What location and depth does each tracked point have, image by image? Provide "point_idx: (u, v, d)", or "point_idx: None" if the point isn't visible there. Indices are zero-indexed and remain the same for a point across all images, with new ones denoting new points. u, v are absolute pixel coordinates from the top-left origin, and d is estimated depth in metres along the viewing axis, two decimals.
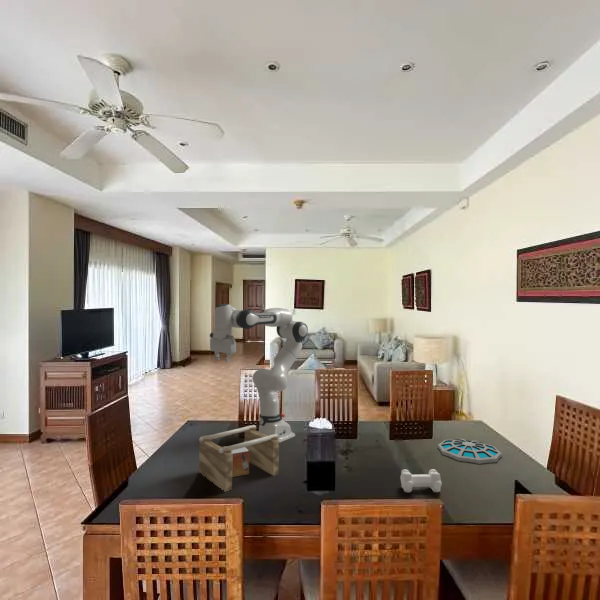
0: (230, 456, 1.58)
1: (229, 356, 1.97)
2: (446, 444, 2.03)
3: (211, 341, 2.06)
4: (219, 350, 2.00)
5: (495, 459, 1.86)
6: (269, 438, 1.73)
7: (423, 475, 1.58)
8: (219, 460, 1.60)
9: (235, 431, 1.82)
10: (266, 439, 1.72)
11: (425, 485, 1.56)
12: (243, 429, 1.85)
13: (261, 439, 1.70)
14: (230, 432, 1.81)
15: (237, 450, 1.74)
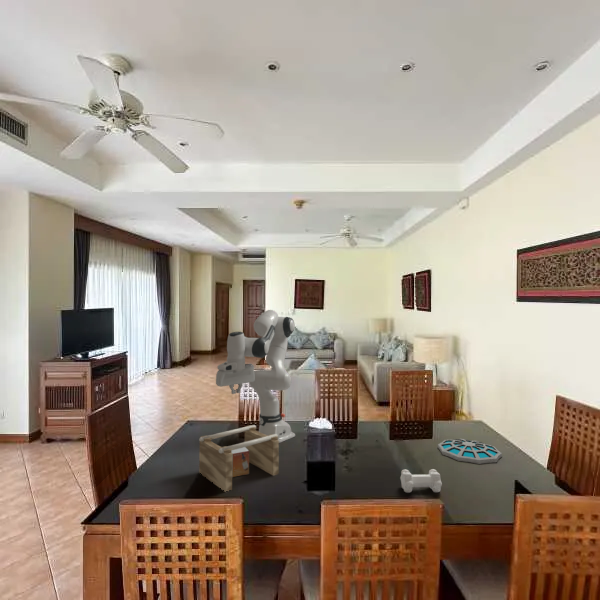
0: (230, 456, 1.58)
1: None
2: (446, 444, 2.03)
3: (223, 375, 1.82)
4: (237, 382, 1.87)
5: (495, 459, 1.86)
6: (269, 438, 1.73)
7: (423, 475, 1.58)
8: (219, 460, 1.60)
9: (235, 431, 1.82)
10: (266, 439, 1.72)
11: (425, 485, 1.56)
12: (243, 429, 1.85)
13: (261, 439, 1.70)
14: (230, 432, 1.81)
15: (237, 450, 1.74)
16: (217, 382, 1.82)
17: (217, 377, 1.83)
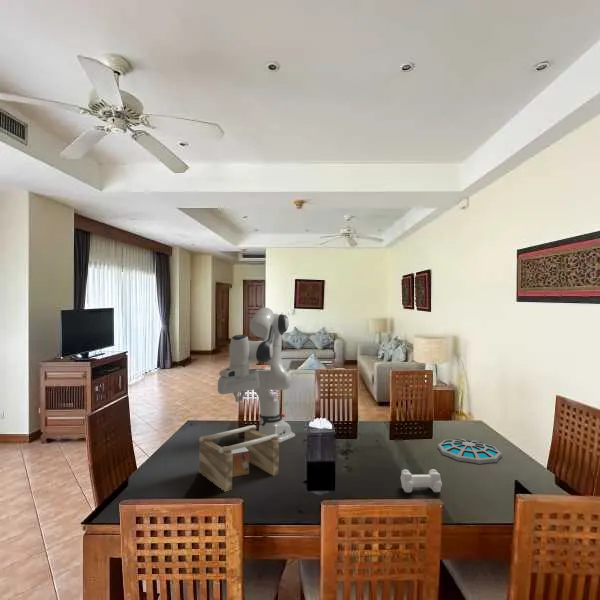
0: (230, 456, 1.58)
1: None
2: (446, 444, 2.03)
3: (226, 382, 1.68)
4: (240, 389, 1.73)
5: (495, 459, 1.86)
6: (269, 438, 1.73)
7: (423, 475, 1.58)
8: (219, 460, 1.60)
9: (235, 431, 1.82)
10: (266, 439, 1.72)
11: (425, 485, 1.56)
12: (243, 429, 1.85)
13: (261, 439, 1.70)
14: (230, 432, 1.81)
15: (237, 450, 1.74)
16: (219, 389, 1.68)
17: (219, 384, 1.69)
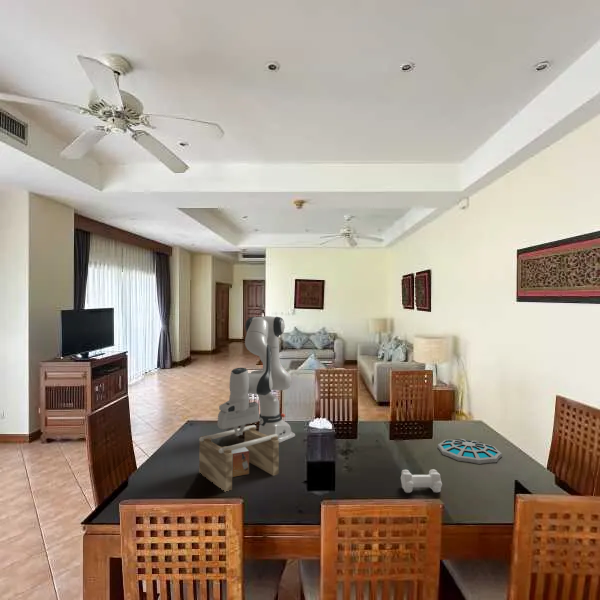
0: (230, 456, 1.58)
1: None
2: (446, 444, 2.03)
3: (225, 417, 1.68)
4: (240, 423, 1.73)
5: (495, 459, 1.86)
6: (269, 438, 1.73)
7: (423, 475, 1.58)
8: (219, 460, 1.60)
9: None
10: (266, 439, 1.72)
11: (425, 485, 1.56)
12: None
13: (261, 439, 1.70)
14: (230, 432, 1.81)
15: (237, 450, 1.74)
16: (219, 424, 1.68)
17: (219, 419, 1.68)
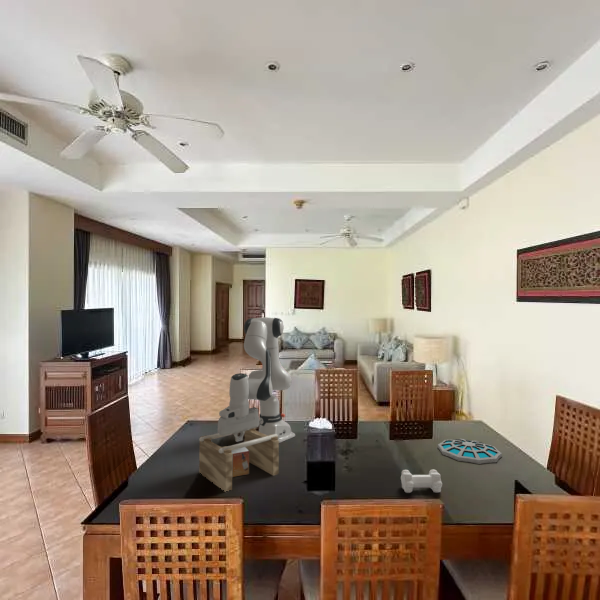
0: (230, 456, 1.58)
1: None
2: (446, 444, 2.03)
3: (225, 423, 1.68)
4: (240, 429, 1.73)
5: (495, 459, 1.86)
6: (269, 438, 1.73)
7: (423, 475, 1.58)
8: (219, 460, 1.60)
9: None
10: (266, 439, 1.72)
11: (425, 485, 1.56)
12: None
13: (261, 439, 1.70)
14: None
15: (237, 450, 1.74)
16: (219, 430, 1.68)
17: (219, 425, 1.68)
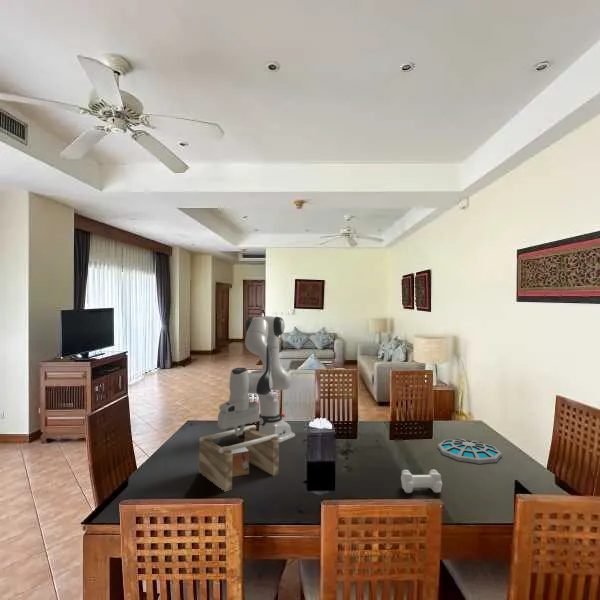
0: (230, 456, 1.58)
1: None
2: (446, 444, 2.03)
3: (226, 417, 1.68)
4: (240, 423, 1.73)
5: (495, 459, 1.86)
6: (269, 438, 1.73)
7: (424, 475, 1.58)
8: (219, 460, 1.60)
9: None
10: (266, 439, 1.72)
11: (426, 485, 1.56)
12: None
13: (261, 439, 1.70)
14: (230, 432, 1.81)
15: (237, 450, 1.74)
16: (219, 424, 1.68)
17: (219, 419, 1.69)
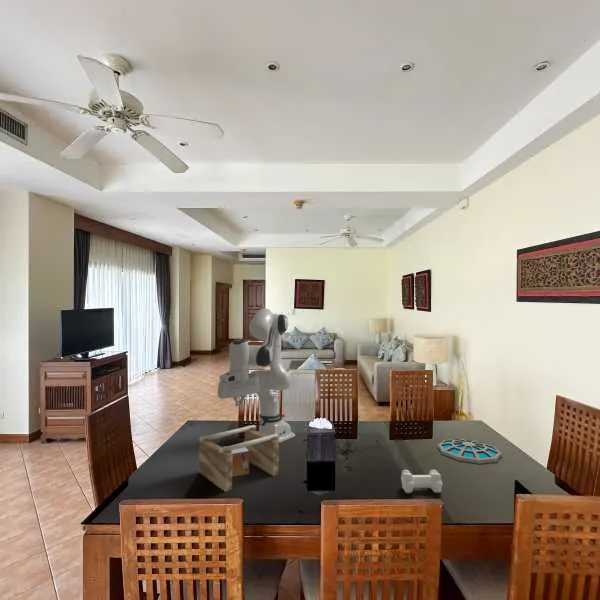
0: (230, 456, 1.58)
1: None
2: (446, 444, 2.03)
3: (226, 387, 1.68)
4: (240, 394, 1.73)
5: (495, 459, 1.86)
6: (269, 438, 1.73)
7: (424, 476, 1.58)
8: (219, 460, 1.60)
9: (235, 431, 1.82)
10: (266, 439, 1.72)
11: (426, 486, 1.56)
12: (243, 429, 1.85)
13: (261, 439, 1.70)
14: (230, 432, 1.81)
15: (237, 450, 1.74)
16: (219, 394, 1.68)
17: (219, 389, 1.69)
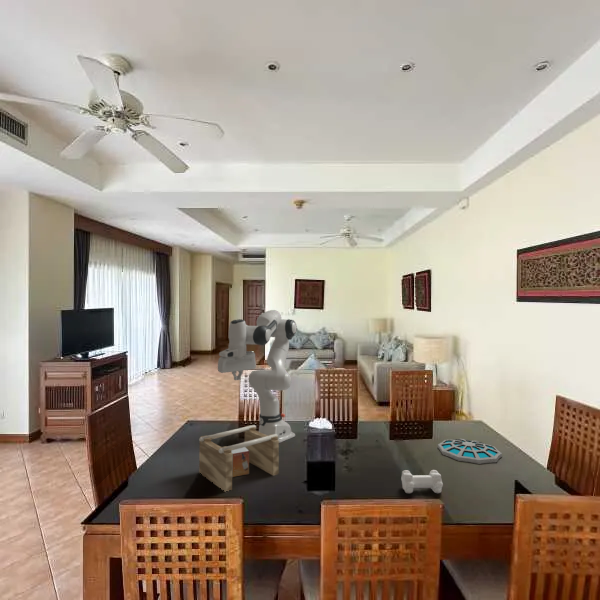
0: (230, 456, 1.58)
1: None
2: (446, 444, 2.03)
3: (225, 361, 1.85)
4: (238, 369, 1.90)
5: (495, 459, 1.86)
6: (269, 438, 1.73)
7: (424, 476, 1.58)
8: (219, 460, 1.60)
9: (235, 431, 1.82)
10: (266, 439, 1.72)
11: (426, 486, 1.56)
12: (243, 429, 1.85)
13: (261, 439, 1.70)
14: (230, 432, 1.81)
15: (237, 450, 1.74)
16: (219, 368, 1.85)
17: (219, 363, 1.86)
